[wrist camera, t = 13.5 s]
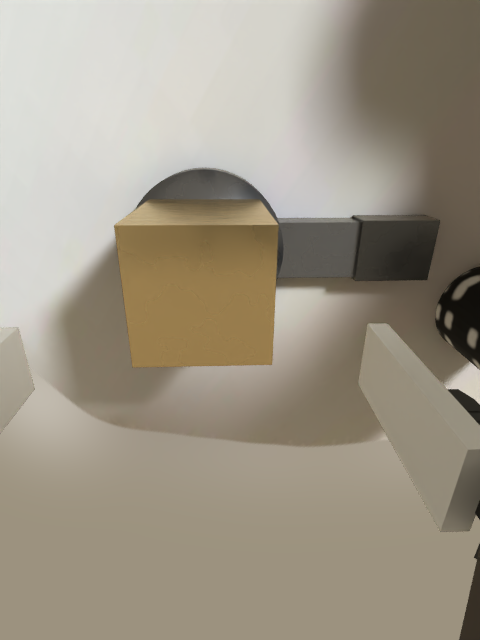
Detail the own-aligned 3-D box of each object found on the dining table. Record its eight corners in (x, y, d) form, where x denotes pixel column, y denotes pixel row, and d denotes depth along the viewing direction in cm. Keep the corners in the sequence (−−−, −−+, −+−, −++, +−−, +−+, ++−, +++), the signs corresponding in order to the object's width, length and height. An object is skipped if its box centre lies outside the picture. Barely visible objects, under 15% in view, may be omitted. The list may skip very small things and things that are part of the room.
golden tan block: (149, 199, 28) (114, 225, 18) (259, 199, 28) (278, 224, 19) (158, 302, 31) (132, 367, 22) (256, 301, 31) (272, 364, 22)
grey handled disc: (434, 168, 30) (508, 176, 22) (405, 309, 35) (458, 355, 27) (125, 167, 29) (90, 175, 21) (141, 312, 34) (117, 362, 26)
